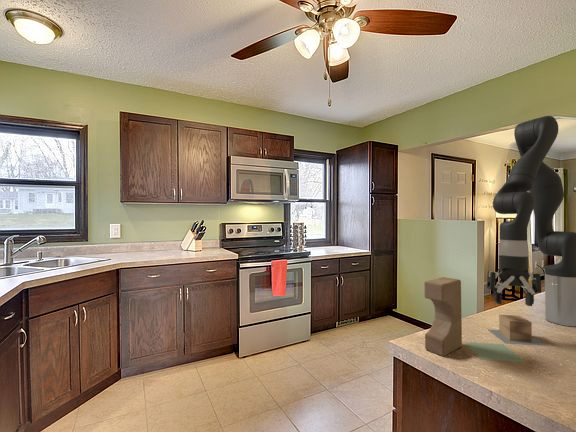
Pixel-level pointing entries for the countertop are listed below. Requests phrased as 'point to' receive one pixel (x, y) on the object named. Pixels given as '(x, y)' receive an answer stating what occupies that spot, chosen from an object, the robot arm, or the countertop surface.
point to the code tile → (505, 340)
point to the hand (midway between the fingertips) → (513, 304)
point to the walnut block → (515, 328)
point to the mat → (493, 352)
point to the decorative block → (444, 315)
